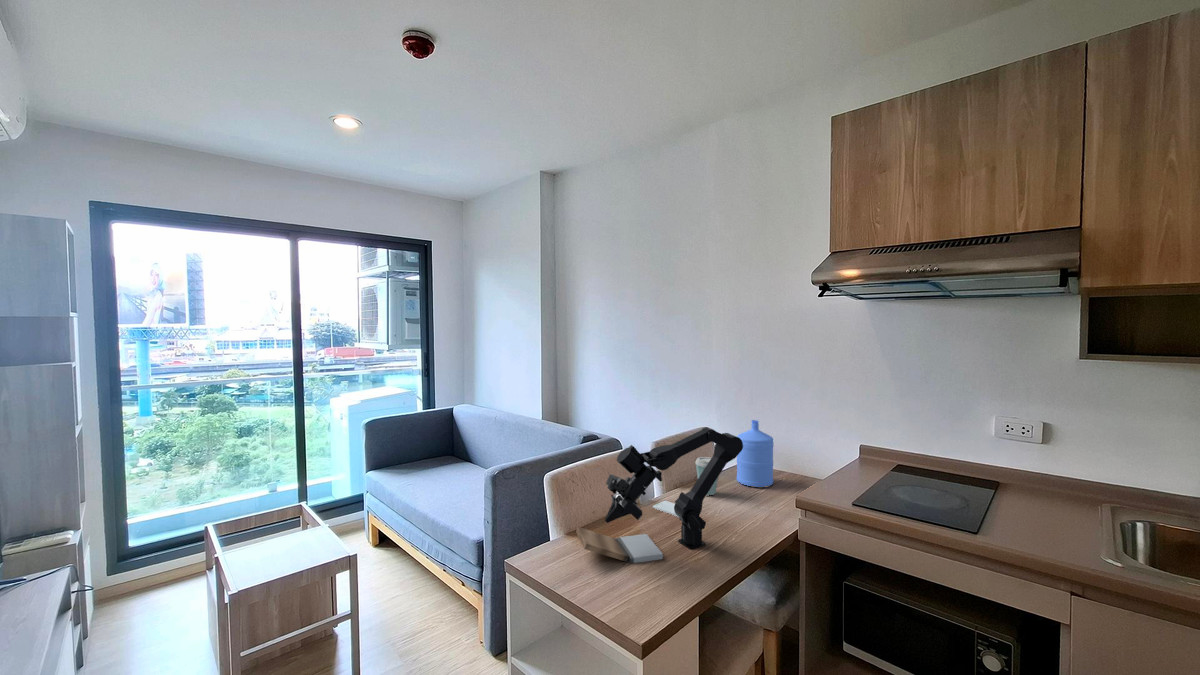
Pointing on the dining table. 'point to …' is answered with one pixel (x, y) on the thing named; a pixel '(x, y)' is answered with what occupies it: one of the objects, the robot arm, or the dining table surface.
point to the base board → (640, 548)
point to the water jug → (755, 458)
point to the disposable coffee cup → (700, 466)
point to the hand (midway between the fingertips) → (606, 521)
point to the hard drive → (666, 507)
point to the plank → (601, 544)
